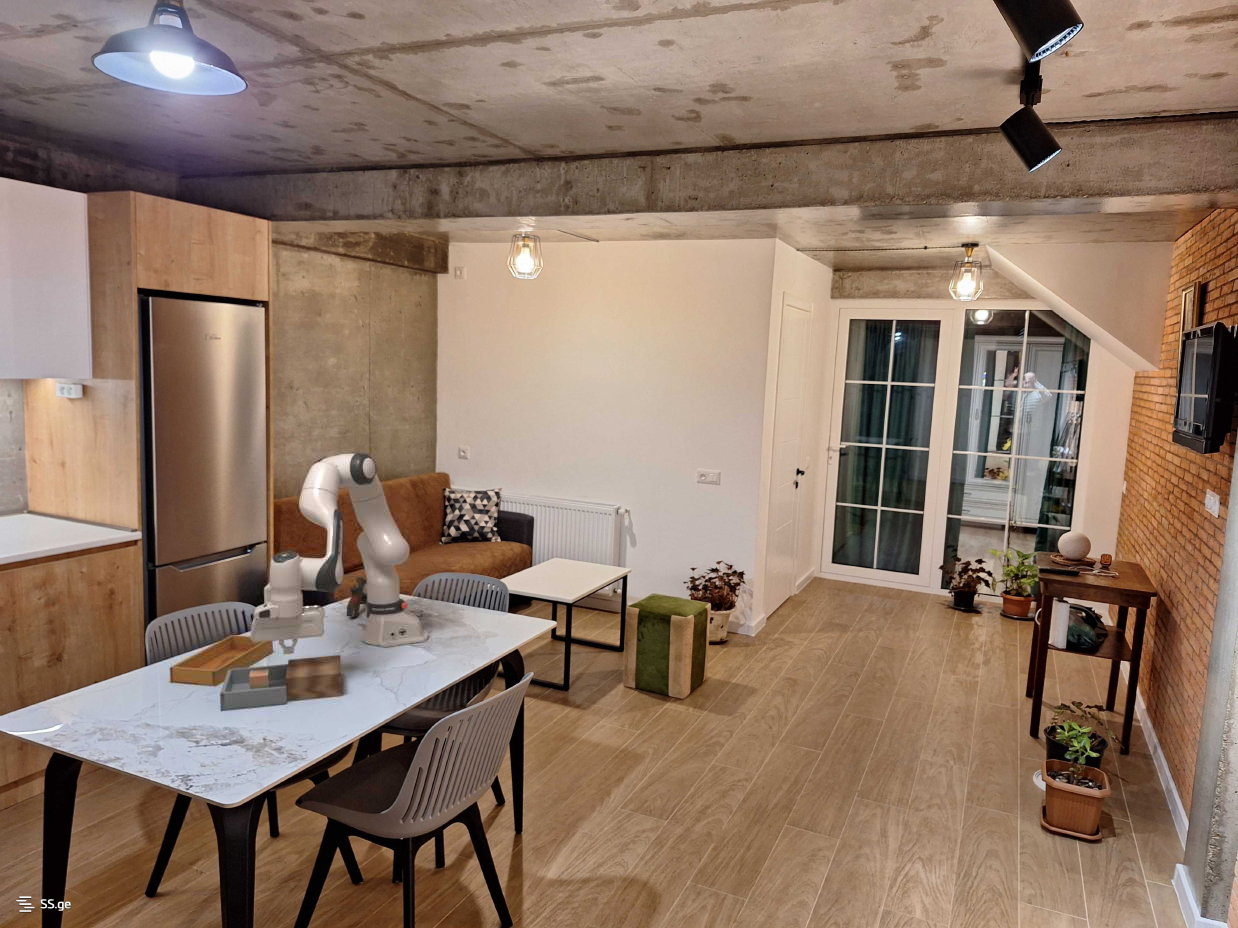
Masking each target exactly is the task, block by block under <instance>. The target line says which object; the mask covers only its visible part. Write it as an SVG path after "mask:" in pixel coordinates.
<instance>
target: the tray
mask: <svg viewBox="0 0 1238 928" xmlns="http://www.w3.org/2000/svg"><path fill="white" fill-rule="evenodd" d="M273 642H274V641H267V642H256V643H254V642H252V641H251V635H250V636H249V635H240V634H239V635H235V634H231V635H229V636H227V637H225V638H223V639H221V640H219V641H217V642H215V643H213V644H212V645H210V646H208V647H207V648H203V649H202V650H200V651H198V652H196V653H195V654H192V655H190V656H189V657H187V658H184V659H183V660H181V661H179V662H177V663H176V664H174V665H171V666H169V679H170V684H179V685H180V684H181V685H193V686H205V687H218V686H219V685H221V684H224V681H225V678H226V675H227V672H228V669H237V668H248V667H251V666H252V665H254V664H255V663H257V662H259V661H260V660H261V659H263V658H265V657H266V656H269V655H270V654H272V653H273V651H274V645H273V644H274V643H273Z"/></svg>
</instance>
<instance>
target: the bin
mask: <svg viewBox="0 0 1238 928" xmlns="http://www.w3.org/2000/svg"><path fill="white" fill-rule="evenodd" d="M287 668H288V663H283V664H282V663H281V664H274V665H273V664H272V665H262V666H249V667H247V668H237V669H228V672H227V675H226V678H225V681H224V682H223V683H222V687H221V690H220V693H219V698H220V700H219V701H220V712H225V711H235V710H236V711H237V710H246V709H253V708H256V709H257V708H262V707H263V708H264V707H273V706H281V705H287V699H286V675H287ZM267 669H269V679H270V688H262V689H252V690H250V687H249V675H250V671H256V670H267Z"/></svg>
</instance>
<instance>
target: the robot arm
mask: <svg viewBox="0 0 1238 928" xmlns="http://www.w3.org/2000/svg"><path fill="white" fill-rule="evenodd" d="M342 488H343V489H345V488H348V492H349V498H350V501H351V504H352V506H353V509H354V512H355V513H354V514H355V516H356V520H357V522H358V523H359V525H360V526H361V527H362V530H363V531H362V532H361V533H360V534H359V535H358V537H357V541H356V546H357V547H356V548H357V550H358V551H359V553H360V555H361V559H362V564H363V568H364V572H365V576H366V577H365V579H367V601H366V604H365V616H366V622H365V628H364V629H365V631H364V634H363V638H362V640H363V642H364V643H365V644H369V645H371V646H372V645H374V646H379V647H382V648H388V647H389V648H390V647H395V646H402V645H408V644H409V645H410V644H415V643H423V642H426V641H427V640H428V639H429V633H428V631H427V629H425V628H423V627H422V622H421V620H420V619H419V617H418V616H417V615H415V614H414V613H413V612H411V611H410V610H408V603H407V602H406V601H405V600H404V599H403V598H401V597H400V577H399V574H398V573H397V570H396V568H395V566H400V565H402V564H403V563H405V562H406V561H407V560H408V558H409V556H410V551H411V549H410V546H409V543H408V541H407V540H406V539H405V537H404V536H402V533H401V532H400V531H401V530H400V529H399V528H398V525H397V523H396V522H395V520H394V518H393V516H392V513H391V511H390V508H389V506H388V502H387V497H386V496H385V493H384V489H383V485H382V483H381V480H380V479H379V477H378V474H377V466H376V461H375V460H374V459H373V458H372V456H370V455H369V454H367V453H363V452H356V453H341V454H337V455H332V456H329V457H328V456H324V457H321V458H318V459H317V460H315V461H314V463H313V464H312V465H311V466H310V469H309V470H308V472H307V474H306V476H305V480H304V482H303V484H302V489H301V492H300V497H299V500H298V501H299V502H298V507H299V511H300V512H301V514H302V516H303V517H305V519H307V520H308V521H310V522H311V523H313V524H316V525H318V526H319V527H322V528H323V529H325V530H326V532H327V534H326V535H327V536H326V539H327V540H326V553H325V554H326V555H325V556H324V557H322V558H320V557H319V558H315V557H302V556H300V555H299V553H298V552H296V551H292V550H291V551H290V550H289V551H288V550H287V551H281V552H278V553H276V554H274V555H273V556H272V557H271V559H270V564H269V565H270V566H269V583H270V587H271V597H270V602H268V603H265V604H264V603H263V604H260V605H258V606H256V608H255V609H254V612H253V615H254V617H253V620H252V623H251V626H250V636H251V641H252V642H254V643H256V642H267V641H273V642H274V641H275V642H276V641H278V644H279V646H280V647H281V649H282V650H283V653H282V654H283V655H290V654H294V653H295V647H296V645H297V644H298V641H299V640H298V639H306V638H307V639H308V638H318V637H322V636H323V635H324V634H325V624H324V620H323V619H324V618H325V616H326V614H325V613H326V611H325V608H324V607H323V606H320V605H319V604H317V605H304V601H303V600H304V598H303V592H302V591H303V590H304V591H318V592H325V593H333V592H334V591H335V590H337V589H338V588H339V587H340V586H341V585H342V583H343V581H344V576H345V572H344V541H345V540H344V539H345V520H344V519H345V518H344V515H343V512H342V511H341V510H340V509H339V508H338V498H339V494H340V493H339V492H340V489H342ZM286 640H292V641H291V642H292V645H290V646H286V645H285V641H286Z"/></svg>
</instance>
